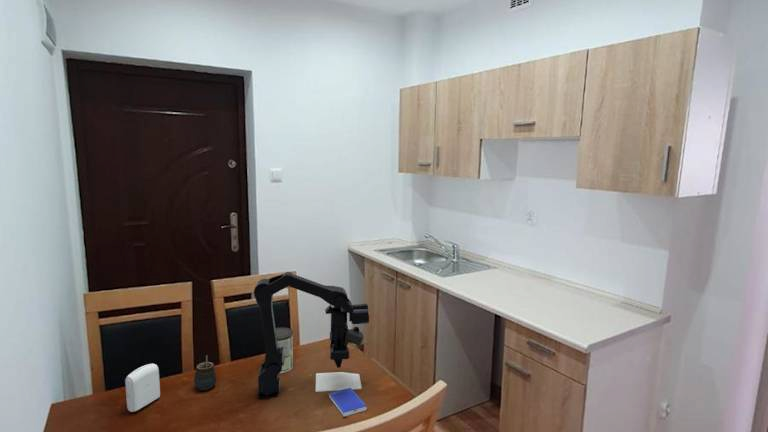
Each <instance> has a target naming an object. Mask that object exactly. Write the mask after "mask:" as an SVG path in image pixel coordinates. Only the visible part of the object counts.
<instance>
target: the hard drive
mask: <svg viewBox="0 0 768 432" xmlns="http://www.w3.org/2000/svg"><path fill="white" fill-rule="evenodd" d="M328 397H329V399H330V400H331V401H332V402H333V404H334V405H335V406H336V409H337V410H338V411H339V412H340V413H341V415H342V416H343V417H347V416H351V415H355V414H357V413H360V412H365V411H366V410H367V408H368V406H367V404H366V403H365V402H364V401H363V400H362V399H361V398H360V397H359V395H358V394H357V393H356V392H355V391H354V390H353V389H352V388H347V389H343V390H339V391H331V392H329V394H328Z"/></svg>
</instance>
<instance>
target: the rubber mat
mask: <svg viewBox="0 0 768 432" xmlns="http://www.w3.org/2000/svg"><path fill="white" fill-rule="evenodd" d="M347 388H352V389H353V391H354V390H362V388H363V387H362V383H361V377H360V374H359V373H353V372H344V371H338V372H337V371H335V372H334V371H333V372H319V373H318V372H317V373H315V393H317V392H318V393H319V392H321V393H323V392H335V391H339V390H343V389H347Z"/></svg>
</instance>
